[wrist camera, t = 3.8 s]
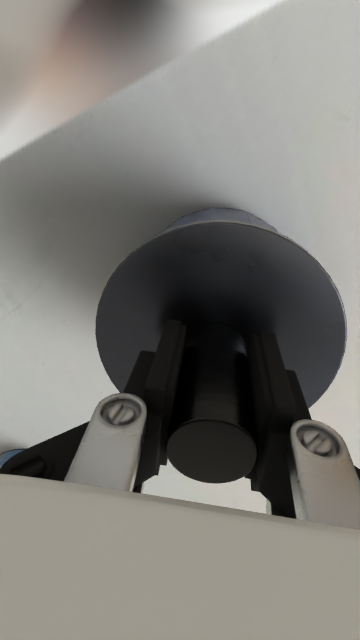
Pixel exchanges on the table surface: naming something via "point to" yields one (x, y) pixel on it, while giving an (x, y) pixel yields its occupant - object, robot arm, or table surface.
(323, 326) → the lid
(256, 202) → the table surface
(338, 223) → the table surface
